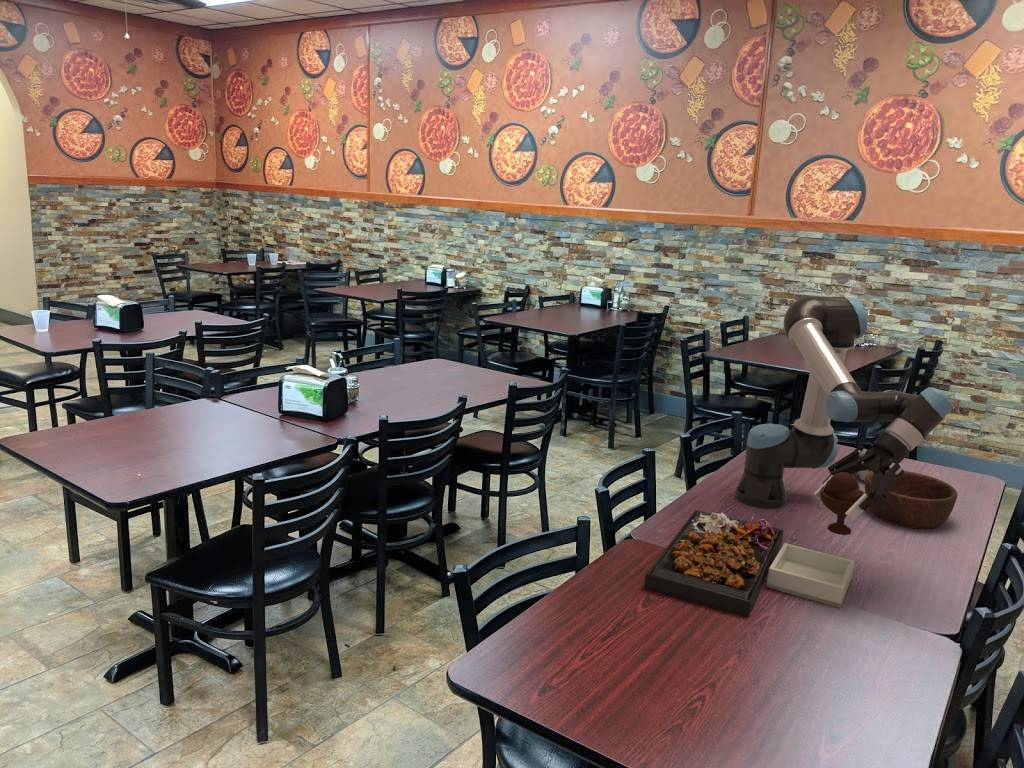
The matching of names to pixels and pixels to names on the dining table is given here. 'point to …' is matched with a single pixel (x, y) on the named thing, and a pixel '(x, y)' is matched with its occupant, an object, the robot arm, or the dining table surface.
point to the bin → (811, 574)
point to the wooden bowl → (915, 501)
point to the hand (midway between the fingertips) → (832, 507)
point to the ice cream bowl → (840, 499)
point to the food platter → (717, 562)
